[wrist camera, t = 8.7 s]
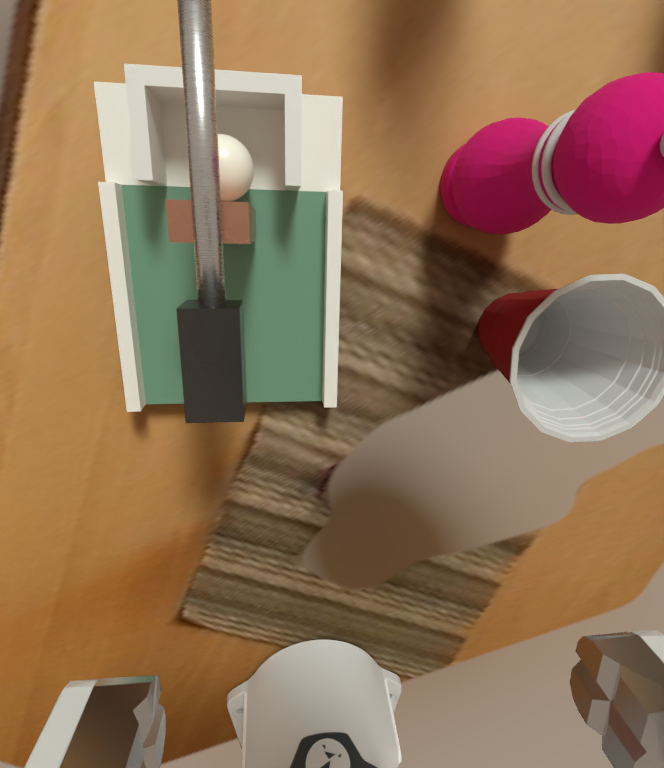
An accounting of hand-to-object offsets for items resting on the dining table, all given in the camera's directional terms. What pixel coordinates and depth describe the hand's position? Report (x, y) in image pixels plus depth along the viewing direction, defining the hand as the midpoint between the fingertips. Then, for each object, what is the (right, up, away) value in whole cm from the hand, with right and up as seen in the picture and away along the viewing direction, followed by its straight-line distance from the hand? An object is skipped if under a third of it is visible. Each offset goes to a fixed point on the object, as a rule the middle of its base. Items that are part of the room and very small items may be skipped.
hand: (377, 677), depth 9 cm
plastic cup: (+14, +11, +31) cm, 36 cm away
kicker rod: (-8, +18, +23) cm, 30 cm away
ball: (-8, +20, +21) cm, 30 cm away
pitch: (-9, +15, +26) cm, 31 cm away
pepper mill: (+10, +21, +27) cm, 36 cm away
